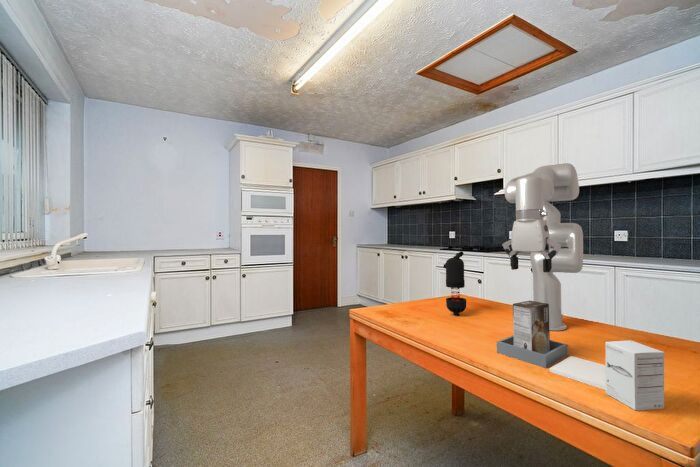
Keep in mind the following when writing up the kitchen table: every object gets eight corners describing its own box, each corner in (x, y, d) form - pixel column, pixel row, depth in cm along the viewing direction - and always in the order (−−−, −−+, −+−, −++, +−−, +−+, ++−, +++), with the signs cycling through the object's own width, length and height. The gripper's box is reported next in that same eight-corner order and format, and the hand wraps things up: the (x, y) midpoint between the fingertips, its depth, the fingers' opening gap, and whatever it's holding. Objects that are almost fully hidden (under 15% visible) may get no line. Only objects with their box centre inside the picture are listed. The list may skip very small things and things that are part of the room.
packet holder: (520, 342, 110) (520, 332, 110) (567, 355, 98) (567, 344, 98) (496, 352, 101) (496, 341, 101) (545, 368, 89) (545, 355, 89)
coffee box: (530, 348, 104) (530, 299, 104) (550, 354, 99) (549, 303, 99) (513, 353, 100) (512, 303, 100) (532, 360, 95) (531, 307, 94)
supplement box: (604, 394, 75) (603, 341, 75) (632, 392, 76) (632, 339, 76) (634, 411, 68) (634, 352, 68) (666, 409, 68) (665, 351, 68)
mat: (571, 359, 95) (571, 355, 95) (631, 376, 83) (631, 372, 83) (549, 371, 87) (549, 368, 87) (613, 392, 75) (613, 388, 75)
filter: (472, 317, 142) (471, 251, 142) (455, 319, 139) (454, 251, 139) (453, 310, 155) (452, 249, 155) (437, 312, 152) (436, 250, 152)
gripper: (565, 215, 94) (566, 272, 94) (508, 217, 108) (509, 267, 108) (554, 214, 90) (555, 274, 90) (496, 217, 104) (497, 269, 104)
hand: (530, 270), depth 99 cm, fingers open, 9 cm apart
